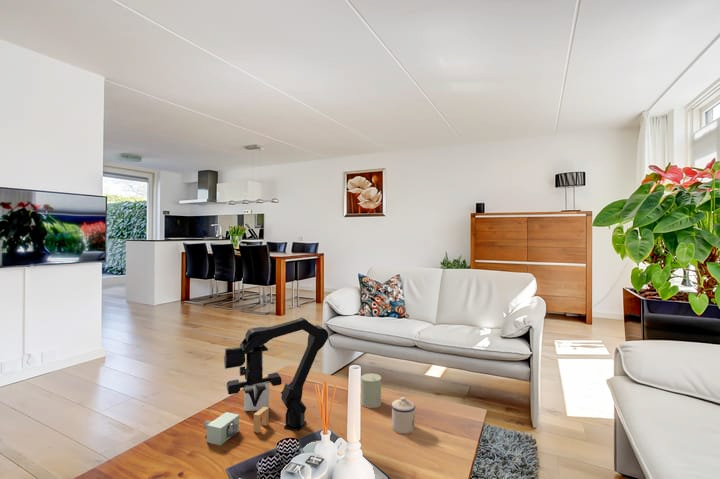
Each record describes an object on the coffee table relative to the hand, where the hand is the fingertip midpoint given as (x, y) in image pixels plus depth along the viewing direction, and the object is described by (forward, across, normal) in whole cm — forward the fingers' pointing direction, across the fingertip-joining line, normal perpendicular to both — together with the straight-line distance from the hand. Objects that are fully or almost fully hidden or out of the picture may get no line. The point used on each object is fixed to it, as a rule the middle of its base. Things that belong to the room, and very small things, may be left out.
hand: (254, 406), depth 128 cm
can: (+12, -51, -4) cm, 52 cm away
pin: (+10, +12, -6) cm, 16 cm away
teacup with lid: (+12, -53, +18) cm, 57 cm away
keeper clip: (+11, -3, -4) cm, 12 cm away
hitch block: (+11, +10, -4) cm, 15 cm away
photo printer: (+11, -4, -20) cm, 23 cm away
